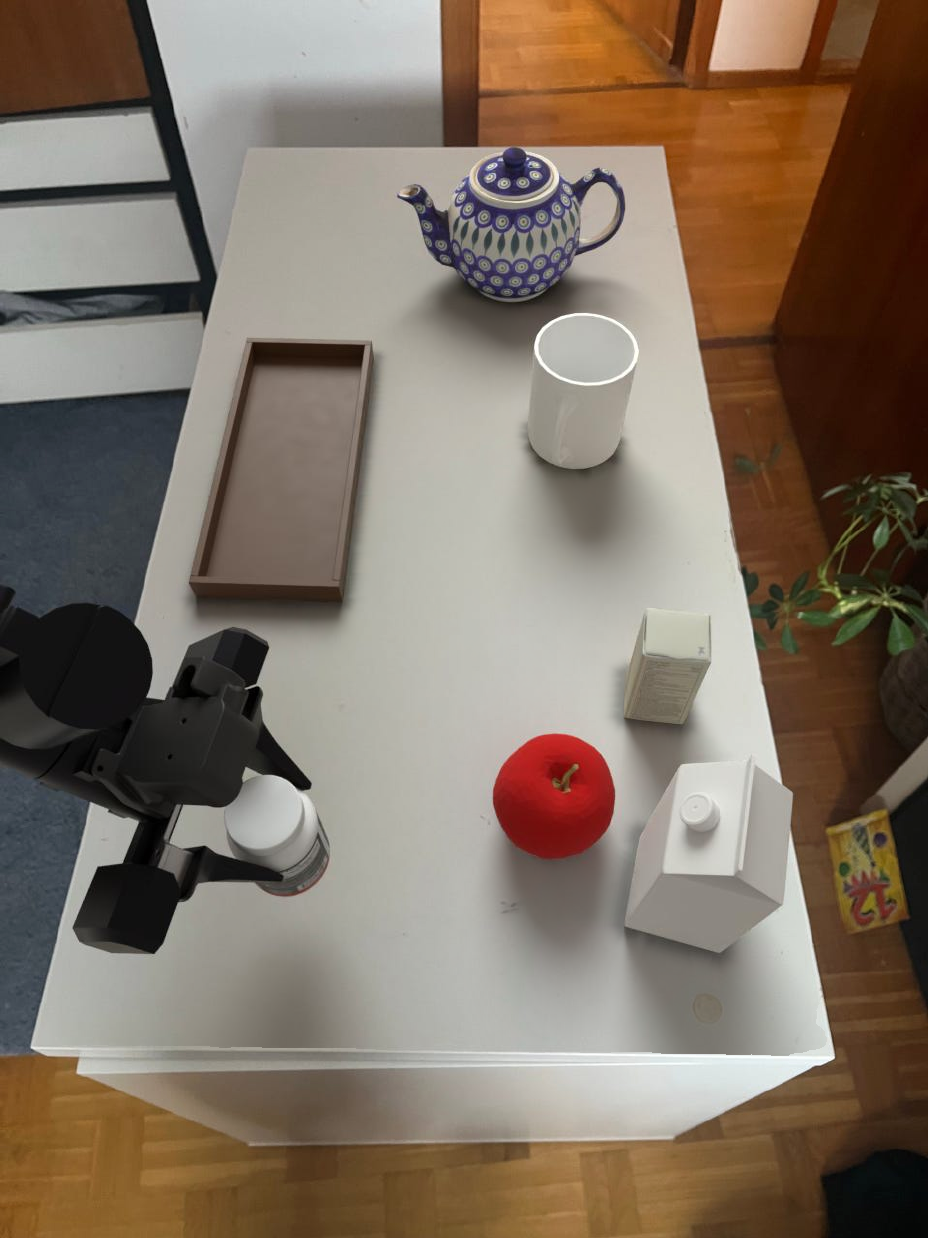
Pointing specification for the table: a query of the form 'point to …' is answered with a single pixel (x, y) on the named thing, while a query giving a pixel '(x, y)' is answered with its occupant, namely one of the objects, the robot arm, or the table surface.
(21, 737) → the robot arm
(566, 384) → the mug
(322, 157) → the table surface
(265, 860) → the pill bottle
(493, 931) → the table surface
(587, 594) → the table surface
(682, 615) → the box
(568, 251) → the teapot
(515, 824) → the fruit
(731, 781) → the milk carton
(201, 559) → the tray
